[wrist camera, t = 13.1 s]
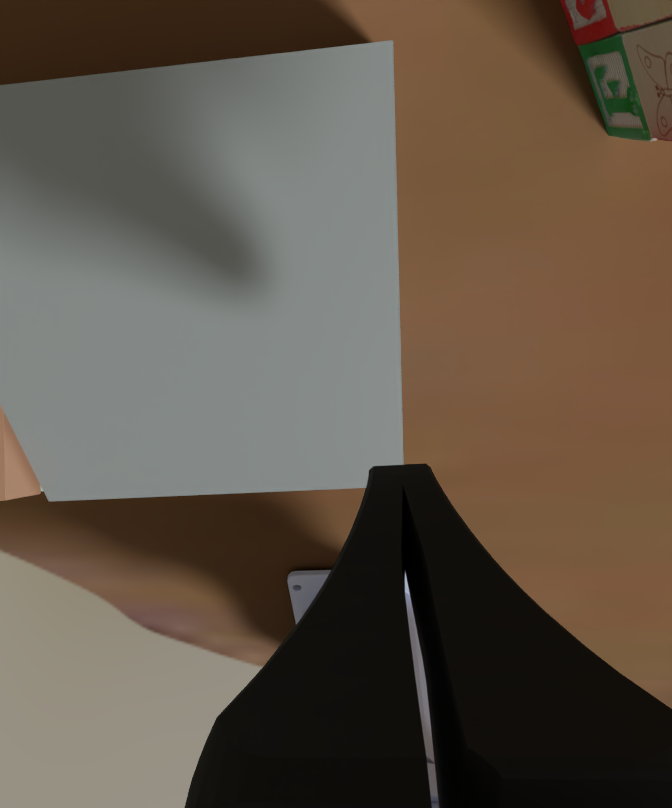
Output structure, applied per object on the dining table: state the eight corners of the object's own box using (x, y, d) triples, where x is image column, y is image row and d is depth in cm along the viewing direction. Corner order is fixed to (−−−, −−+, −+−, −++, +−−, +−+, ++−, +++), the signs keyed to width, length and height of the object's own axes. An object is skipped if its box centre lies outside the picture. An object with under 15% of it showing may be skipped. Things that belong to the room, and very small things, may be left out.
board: (397, 430, 23) (403, 486, 20) (92, 446, 24) (48, 501, 21) (385, 57, 16) (392, 40, 12) (-48, 105, 17) (-151, 102, 14)
